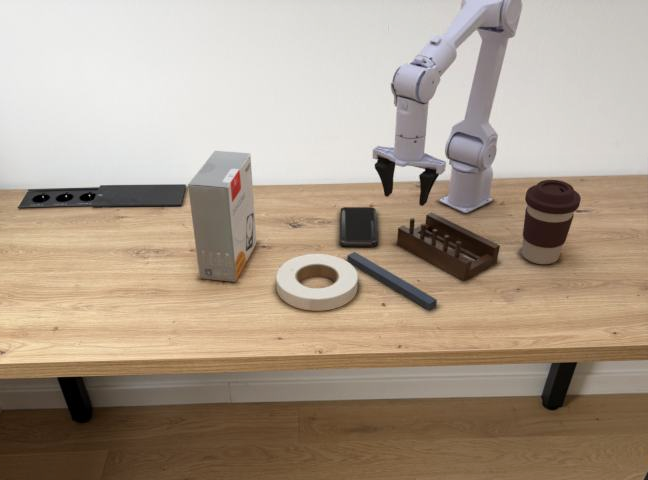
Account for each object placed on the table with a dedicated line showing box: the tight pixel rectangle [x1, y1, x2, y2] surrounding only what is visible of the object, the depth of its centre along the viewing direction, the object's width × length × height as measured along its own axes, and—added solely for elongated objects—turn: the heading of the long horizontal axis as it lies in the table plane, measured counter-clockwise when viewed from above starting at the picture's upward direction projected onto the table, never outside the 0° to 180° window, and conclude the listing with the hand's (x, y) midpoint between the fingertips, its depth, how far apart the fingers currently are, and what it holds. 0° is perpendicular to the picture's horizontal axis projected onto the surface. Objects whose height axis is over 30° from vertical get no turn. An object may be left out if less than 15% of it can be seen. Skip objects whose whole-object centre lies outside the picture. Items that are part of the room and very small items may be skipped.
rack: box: [396, 212, 501, 282], centre depth 136 cm, size 10×18×7 cm, turn 40°
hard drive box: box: [187, 150, 258, 283], centre depth 131 cm, size 16×8×20 cm, turn 168°
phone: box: [339, 206, 379, 248], centre depth 146 cm, size 8×1×15 cm
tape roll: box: [275, 253, 359, 312], centre depth 129 cm, size 16×15×3 cm
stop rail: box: [346, 251, 438, 311], centre depth 130 cm, size 2×22×2 cm, turn 40°
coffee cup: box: [521, 179, 581, 265], centre depth 133 cm, size 10×10×15 cm
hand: (405, 199), depth 136 cm, fingers open, 7 cm apart
